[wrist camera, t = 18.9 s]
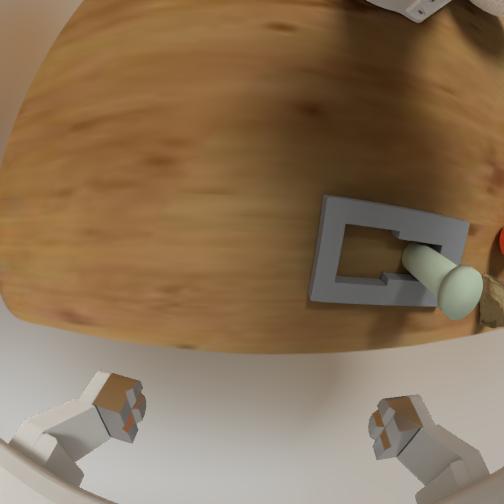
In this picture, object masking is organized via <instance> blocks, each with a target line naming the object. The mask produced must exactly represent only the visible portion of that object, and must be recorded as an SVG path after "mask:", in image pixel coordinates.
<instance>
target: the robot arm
mask: <svg viewBox="0 0 504 504" xmlns="http://www.w3.org/2000/svg"><path fill="white" fill-rule="evenodd" d="M366 1H368V2H370V3H372V4H374V5H377V6H379V7H382V8H385V9H388V10H392V11H395V12H398V13H401V14H402V15H404V16H406V17H407V18H409V19H411V20H412V21H414V22H417V23H421V22H422V21H424V20H425V19H426V18H428V17H429V16H430V15H432V14H433V13H435V12H436V11H437V10H439V9H440V8H442V7H443V6H445V5H446V4H447V3H449V2H450V1H452V0H366ZM142 388H143V387H142V384H141V381H138V380H134V379H131V378H128V377H124V376H121V375H118V374H114V373H111V372H108V371H105V370H100V371H98V372H97V373H96V375H95V376H94V378H93V379H92V380H91V382H90V383H89V385H88V387H87V388H86V389H85V391H84V392H83V394H82V395H81V397H80V398H79V399H76V398H75V399H73V400H70V401H68V402H66V403H63V404H61V405H59V406H57V407H54V408H52V409H50V410H47V411H45V412H42V413H40V414H38V415H35V416H33V417H30V418H28V419H26V420H25V421H24V422H23V423H22V425H21V426H20V428H19V429H18V431H17V432H16V433H15V435H14V437H13V438H12V440H11V441H10V442H9V444H7V443H6V442H5V441H4V440H2V439H1V438H0V504H117V503H114V502H112V501H109V500H107V499H104V498H102V497H100V496H97V495H95V494H93V493H90V492H88V491H86V490H84V489H82V488H80V487H79V486H80V483H81V481H82V479H83V477H84V474H83V472H82V470H81V469H80V468H79V467H78V466H77V465H76V463H75V462H76V461H77V460H79V459H80V458H82V457H84V456H85V455H86V454H88V453H90V452H91V451H93V450H94V449H95V448H97V447H99V446H100V445H101V444H103V443H104V442H106V441H107V440H109V439H110V437H112V438H116V439H119V440H122V441H125V442H129V443H133V441H134V439H135V436H136V434H137V432H138V428H137V423H138V422H140V421H142V420H143V417H144V415H145V410H146V399H145V396H144V395H143V394H142V393H141V391H142ZM377 407H378V410H377V411H376V412H374V413H373V414H372V416H371V418H370V419H369V425H368V428H369V434H370V437H371V438H372V439H374V440H375V443H374V445H373V448H374V452H375V455H376V459H377V460H380V459H387V458H393V457H397V459H398V460H399V461H400V462H401V463H402V464H403V465H404V466H405V467H406V468H408V469H409V470H410V471H411V472H412V473H413V474H414V475H415V476H416V477H417V478H418V479H419V480H420V481H421V482H422V483H423V484H424V485H425V487H424V488H422V489H421V490H420V491H419V492H417V494H416V495H415V498H416V501H417V504H504V467H502V468H501V469H499V470H497V471H496V472H494V473H492V474H491V475H490V473H489V471H488V469H487V467H486V465H485V462H484V460H483V458H482V456H481V454H480V452H479V451H478V450H477V449H475V448H474V447H472V446H471V445H469V444H467V443H466V442H464V441H463V440H461V439H460V438H458V437H457V436H455V435H453V434H452V433H451V432H449V431H448V430H446V429H444V428H443V427H441V426H440V425H435V423H434V421H433V420H432V417H431V415H430V414H429V411H428V409H427V407H426V406H425V404H424V402H423V400H422V398H421V396H420V395H418V394H417V395H410V396H401V397H394V398H385V399H382V400H381V401H380V402H379V404H378V405H377Z"/></svg>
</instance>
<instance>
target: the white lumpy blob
mask: <svg viewBox="0 0 504 504" xmlns="http://www.w3.org/2000/svg"><path fill="white" fill-rule="evenodd" d="M470 2H472V3H473V4H474V5H475V6H477V7H479V8H481V9H482V10H483V11H486V12H487V13H490V14H492V15H495V16H498V17H503V18H504V0H470Z"/></svg>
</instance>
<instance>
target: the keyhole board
mask: <svg viewBox="0 0 504 504" xmlns="http://www.w3.org/2000/svg"><path fill="white" fill-rule="evenodd" d="M345 224H352V225H360V226H367V227H374V228H382V229H388V230H392V231H391V234H392V235H393V236H395V237H396V238H398V239H402V240H409V241H416V242H423V243H430V244H433V246H432V249H433V250H435V251H436V252H438V253H439V254H441V255H442V256H444V257H445V258H447V259H448V260H450V261H451V262H453V263H454V264H456V265H457V266H459V265H460V262H461V258H462V255H463V251H464V247H465V243H466V239H467V234H468V230H469V225H470V223H469V222H466V221H464V220H461V219H458V218H454V217H449V216H445V215H440V214H436V213H431V212H426V211H421V210H417V209H411V208H406V207H401V206H396V205H390V204H385V203H379V202H373V201H367V200H361V199H354V198H348V197H341V196H334V195H327V194H323V200H322V208H321V215H320V222H319V229H318V235H317V242H316V248H315V254H314V260H313V266H312V272H311V278H310V283H309V289H308V295H309V298H310V301H316V302H330V303H347V304H366V305H390V306H426V307H439V306H438V302H437V297H436V296H435V295H434V294H433V293H432V292H431V291H430V290H429V289H427V288H426V287H425V286H424V285H423V284H422V283H421V282H420V281H419V280H418V279H417V278H415V277H414V276H413V275H410V274H398V273H386V272H382V275H381V279H376V278H363V277H351V276H339V275H336V273H337V268H338V263H339V258H340V253H341V247H342V242H343V236H344V230H345Z"/></svg>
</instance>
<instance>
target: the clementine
mask: <svg viewBox="0 0 504 504" xmlns="http://www.w3.org/2000/svg"><path fill="white" fill-rule="evenodd" d="M499 243H500V249H501V252H502V254H503V255H504V227H503V229H502V231H501V234H500V240H499Z"/></svg>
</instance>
